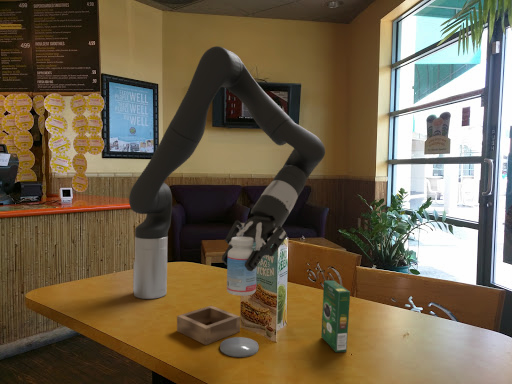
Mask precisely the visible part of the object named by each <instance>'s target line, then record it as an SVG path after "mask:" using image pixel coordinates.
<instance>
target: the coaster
mask: <svg viewBox="0 0 512 384" xmlns="http://www.w3.org/2000/svg"><path fill="white" fill-rule="evenodd" d="M219 349H220V352H221V353H222V354H224V355H226V356H230V357H233V358H245V357H251V356H253V355H256V354H257V353H258V351H259V344H258V342H257V341H256V340H254V339H251V338H249V337H243V336H242V337H241V336H235V337H229V338H226V339H224V340H223V341H221V343H220V345H219Z"/></svg>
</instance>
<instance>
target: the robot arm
mask: <svg viewBox="0 0 512 384" xmlns="http://www.w3.org/2000/svg"><path fill="white" fill-rule="evenodd" d="M221 88H225V89H226V90H228V92H230V93H232V94H233V95H234V96H235V97H237V99H238V100H240V102H241V103H242V104H243V105H244V106H245V108H246V109H247V110H248V112H249V114H250V116H251V117H252V118H253V120H254V121H255V122H254V123H256V125H258V126H259V128H260V129H261V130H262V131H263V132H264V133H265V135H267V137H268V138H269V139H271V140H272V142H273V143H275V144H276V145H277V146H284V145H286V144H288V145H289V146H291V147H292V148H293V149H292V151H291V153H290V154H289V155H288V157H287V159H286V161H285V163H284V165H283V166H282V167H281V168H280V170H279V171H278V172H277V174H276V175H275V176H274V178H273V180H272V181H271V182H270V184H269V185H267V186H266V188H265V189H264V191H263V192H262V193H261V195H260V197H259V198H258V199H257V201H256V202H255V204H254V206H253V207H252V209H251V211H250V218H248V219H247V220H246V221H245V222H240V220H235V221H234V223H233V224H232V225H231V226H232V227H231V228H230V230H229V232H228V233H227V235H226V237H225V239H224V241H225V242H226V243H227V245H228V247H227V249H225V252H224V253H223V255H222V256H221V261H222V263H223V264H224V265H225V266H227V259H228V251H229V250H230V249H231V248H233V246H232V244H231V239H232V238H233V237H251V238H253V239H254V244H255V248H254V250H255V251H254V250H253V252H252V253H251V255H250V256H249V258H248V260H247V261H246V263H245V267H246V268H247V270H248V271H253V269H255V268H256V267H258V265H259V263H260V262H261V260H262V258H265V257H266V256H269V257H273V256H274V255H275V253H276V252H277V251H278V249H279V248H280V247H281V245H282V243H284V241H285V240H286V239H287V237H288V234H287V232H286V231H285V230H284V228H283V225H284V223H285V222H286V220H287V218H288V217H289V215H290V213H291V212H292V210H293V209H294V206H295V204H296V203H297V200H298V198H299V196H300V195H301V193H302V191H303V190H304V188H305V186H306V182H307V180H308V178H309V177H310V176H311V174H312V173H313V171H314V170H315V168H317V166H318V165H319V164H320V162H322V161H323V159H324V157H325V155H326V148H325V145H324V144H323V141H321V139H320V138H319V137H318V136H317V135H316V134H314V133H313V132H311V131H309V130H307V129H306V128H304V127H303V126H301V125H300V124H297V123H295V121H294V120H293V119H292V118H291V117H290V116H289V115H288V114H287V113H286V112H285V111H284V109H282V108H281V107H280V105H278V103H276V102H275V101H274V100H273V99H272V97H270V96H269V95H268V94H267V93H266V92H265V91H264V89H263V88H262V87H261V86H260V85H259V83H258V82H257V81H256V80H255V78H254V77H253V76H252V75H251V73H250V71H249V70H248V69H247V67H246V65H245V64H244V62H243V61H242V60H241V58H240V57H239V56H238V54H236V53H235V52H233V51H230V50H229V49H227V48H225V47H223V46H211V47H210V48H208V49H207V50H206V51H205V52H204V53H203V54H202V56H201V57H200V60H199V62H198V64H197V66H196V69H195V71H194V74H193V77H192V79H191V81H190V84H189V86H188V89H187V91H186V93H185V95H184V97H183V98H182V100H181V102H180V104H179V106H178V108H177V110H176V112H175V114H174V116H173V118H172V119H171V121H170V122H169V124H168V126H167V128H166V129H165V132H164V134H163V137H162V138H161V140H160V142H159V145H158V146H157V147H156V149H155V151H154V153H153V155H152V157H151V158H150V160H149V162H148V163H147V165H146V167H145V168H144V169H143V170H142V173H141V174H140V175H139V177H138V178H137V179H136V181H135V182H134V184H133V186H132V188H131V190H130V193H129V196H128V201H129V202H128V203H129V206H130V209H131V210H132V211H133V212H134V213H136V214H139V215H140V214H141V215H146V216H145V219H144V220H143V221H142V222H141V223H140V224H138V225H137V226H136V227H135V230H134V260H133V272H132V273H133V281H132V283H133V284H132V293H133V295H134V297H136V298H138V299H143V300H145V299H147V300H150V299H151V300H152V299H153V300H154V299H157V298H163V297H165V296H166V295H167V287H168V285H167V284H168V283H167V282H168V281H167V280H168V242H169V241H168V238H169V236H168V233H169V229H170V228H171V222H172V208H173V195H172V191H171V188H170V186H169V185H168V184H167V183H165V181H166V180H167V178H168V177H169V176H170V175H172V173H174V172H175V171H176V170H178V168H179V167H181V166H182V165H183V164H184V163H185V162H187V161H188V160H189V159H190V158H191V156H193V154H194V152H195V151H196V149H197V147H198V146H199V143H200V142H201V140H202V138H203V136H204V133H205V131H206V125H207V117H208V112H209V110H210V106H211V104H212V102H213V100H214V99H215V96H216V95H217V94H218V92H219V91H220V89H221Z"/></svg>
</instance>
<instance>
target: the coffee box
mask: <svg viewBox="0 0 512 384" xmlns="http://www.w3.org/2000/svg"><path fill="white" fill-rule="evenodd" d="M322 295H323V296H322V314H321V315H322V316H321V334H320V335H321V336H320V337H321V338H322V339H323V341H325V342H326V343H327V345H329V347H330V348H331V349H332V350H333V351H334V352H335V353H346V352H347V351H348V333H349V319H350V318H349V317H350V316H349V315H350V302H351V291H350V290H348V289H347V288H346V287H344V286H343V285H341V284H339V283H338V282H337V281H336V280H324V281H323V294H322Z"/></svg>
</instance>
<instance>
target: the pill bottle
mask: <svg viewBox="0 0 512 384" xmlns="http://www.w3.org/2000/svg"><path fill="white" fill-rule="evenodd" d="M231 244H232V246H233V248H231V249H230V250H229V251H228V259H227V265H226V266H227V267H226V269H227V270H226V292H227V293H228V294H230V295H234V296H242V297H243V296H250V295H253V294H255V293H256V291H257V267H258V266H257V267H256V268H255V269H253V271H248V270H247V268H246V267H245V263H246V261H247V260H248V258H249V256H250V255H251V253H252V252H253V250H254V251H256V250H255V248H253V247H254V244H255V242H254V239H253V238H251V237H245V236H243V237H232V239H231Z"/></svg>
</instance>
